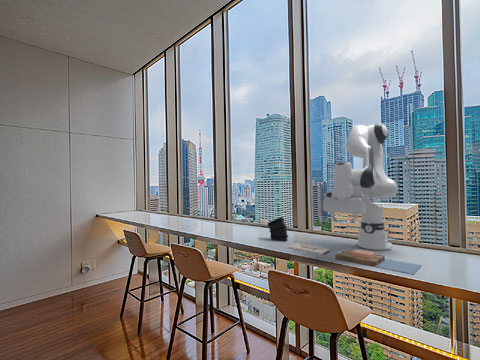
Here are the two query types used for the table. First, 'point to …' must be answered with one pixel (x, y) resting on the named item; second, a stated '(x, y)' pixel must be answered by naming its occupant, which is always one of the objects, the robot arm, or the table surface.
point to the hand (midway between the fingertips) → (343, 222)
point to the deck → (347, 257)
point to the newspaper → (309, 248)
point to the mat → (399, 266)
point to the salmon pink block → (363, 254)
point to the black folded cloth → (278, 229)
